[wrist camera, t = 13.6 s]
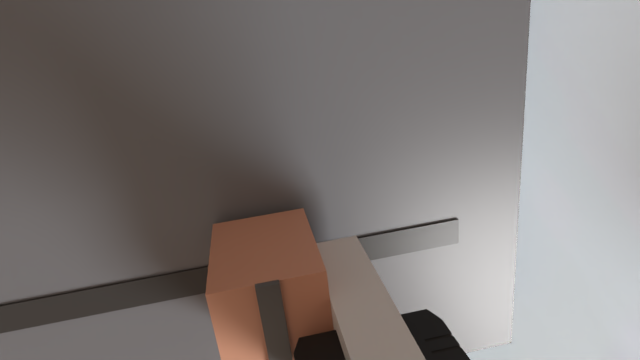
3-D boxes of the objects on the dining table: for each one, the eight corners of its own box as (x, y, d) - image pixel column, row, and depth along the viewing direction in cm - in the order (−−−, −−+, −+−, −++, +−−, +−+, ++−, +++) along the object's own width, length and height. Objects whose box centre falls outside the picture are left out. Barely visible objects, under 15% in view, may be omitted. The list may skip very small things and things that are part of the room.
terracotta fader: (212, 224, 14) (205, 298, 11) (303, 208, 15) (327, 274, 11) (236, 332, 16) (237, 432, 12) (318, 315, 16) (344, 406, 12)
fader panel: (-505, -526, 9) (-714, -681, 7) (511, -492, 12) (567, -594, 10) (-11, 424, 18) (-41, 473, 16) (486, 314, 21) (512, 344, 19)
